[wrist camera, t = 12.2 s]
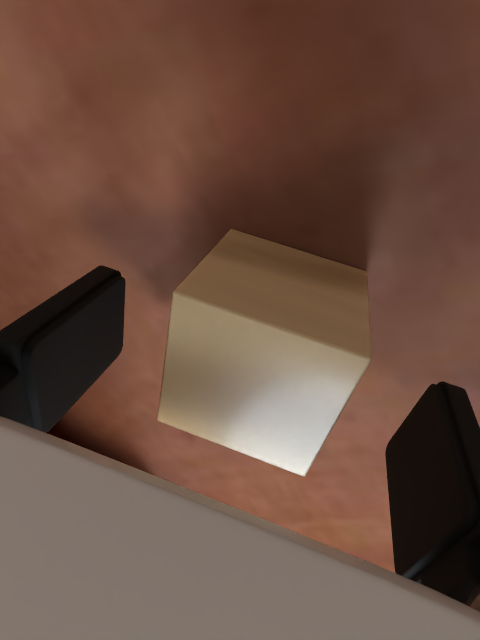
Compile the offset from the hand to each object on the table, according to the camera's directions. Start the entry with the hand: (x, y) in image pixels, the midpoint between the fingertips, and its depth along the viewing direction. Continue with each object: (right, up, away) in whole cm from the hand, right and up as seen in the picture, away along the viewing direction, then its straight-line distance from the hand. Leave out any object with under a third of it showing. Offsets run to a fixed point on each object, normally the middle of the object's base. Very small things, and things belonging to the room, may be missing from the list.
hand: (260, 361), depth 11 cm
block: (+1, +2, +2) cm, 3 cm away
